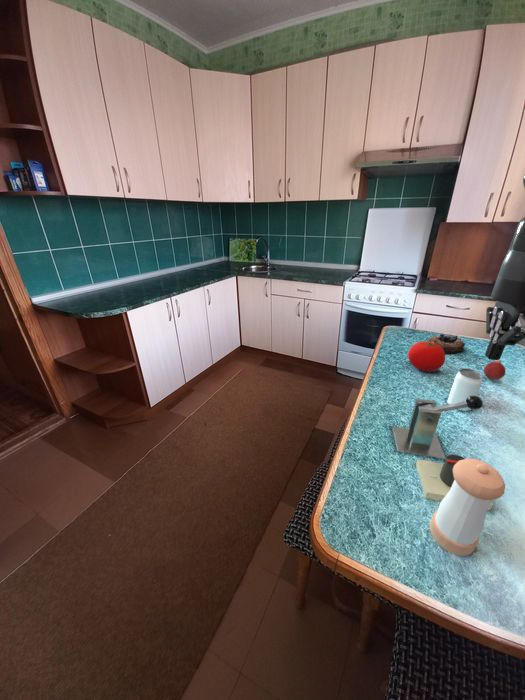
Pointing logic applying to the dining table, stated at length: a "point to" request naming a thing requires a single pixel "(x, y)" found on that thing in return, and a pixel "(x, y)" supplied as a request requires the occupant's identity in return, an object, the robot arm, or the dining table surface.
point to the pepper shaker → (466, 506)
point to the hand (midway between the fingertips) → (491, 357)
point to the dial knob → (449, 469)
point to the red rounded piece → (494, 370)
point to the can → (465, 386)
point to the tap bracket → (420, 432)
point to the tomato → (426, 356)
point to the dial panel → (433, 480)
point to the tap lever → (457, 405)
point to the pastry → (449, 343)
